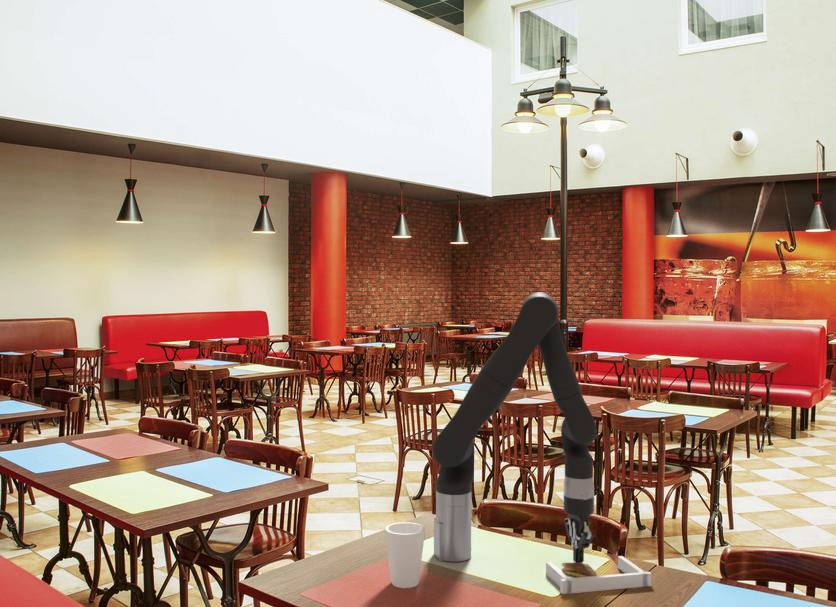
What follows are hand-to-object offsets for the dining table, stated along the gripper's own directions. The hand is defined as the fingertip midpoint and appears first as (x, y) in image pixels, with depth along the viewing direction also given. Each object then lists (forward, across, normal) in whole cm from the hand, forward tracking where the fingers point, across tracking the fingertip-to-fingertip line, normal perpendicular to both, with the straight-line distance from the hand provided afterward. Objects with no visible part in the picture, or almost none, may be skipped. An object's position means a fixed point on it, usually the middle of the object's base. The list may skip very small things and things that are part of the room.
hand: (578, 561), depth 188 cm
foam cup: (+1, +1, -45) cm, 45 cm away
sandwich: (+2, +5, -1) cm, 5 cm away
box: (+1, +10, 0) cm, 10 cm away
